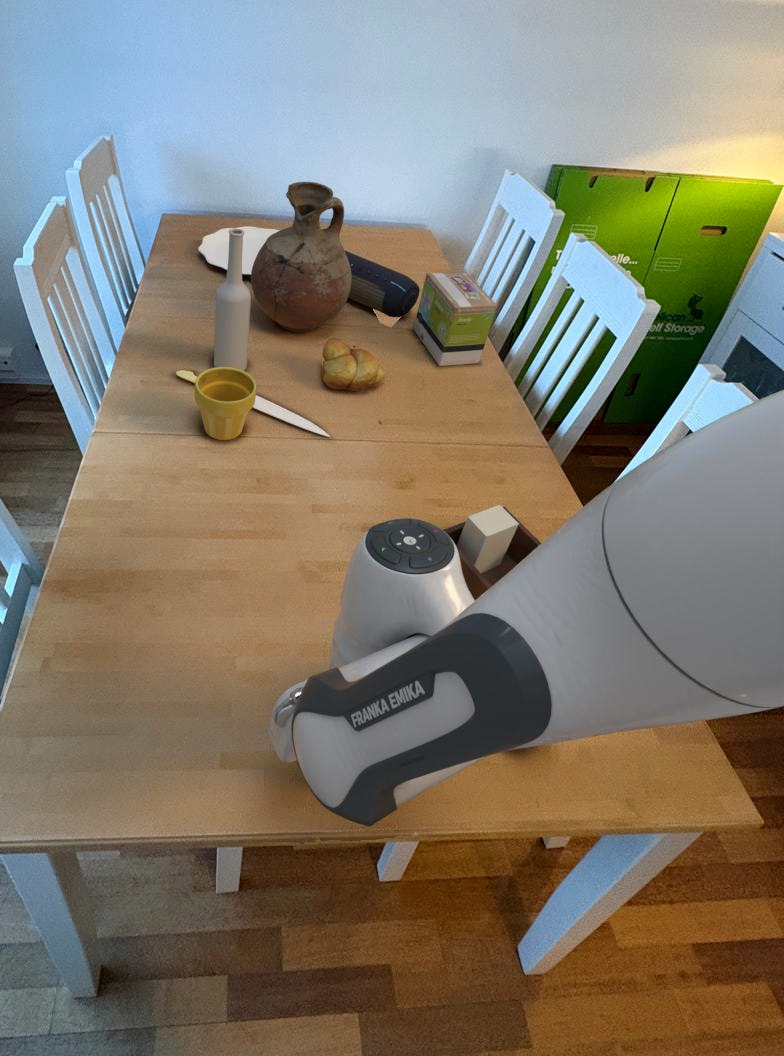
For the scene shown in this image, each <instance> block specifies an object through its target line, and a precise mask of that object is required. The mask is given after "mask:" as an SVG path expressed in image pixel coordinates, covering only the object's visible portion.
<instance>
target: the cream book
mask: <svg viewBox="0 0 784 1056" xmlns="http://www.w3.org/2000/svg"><path fill="white" fill-rule="evenodd" d="M503 507H504V506H502V505H501V504H497V505H495V506H492V507H489V508H487V509H484V510H481V511H479V512H476V513H474V514H471V515H469V516H467V517H466V520H465V521H466V523H465V525H464V528H463V531H462V533H461V536H460V538H459V541H458V544H457V547H458V548H459V549H460V550H461V552H462V553H463V554H464V555H465V556H466V557H467V558H468V559H469V561H470V562H471V563H472V564H473V565H474V566H475V567H476V569H477V570H478V571H479V572H480V573H483V572H485V571H487V570H490V569H492V568H494V567H497V566H499V565H500V564H501V562H502V560H503V558H504V555H505V553H506V551H507V549H508V547H509V544H510V542H511V540H512V538H513V536H514V533H515V531H516V529H517V527H518V525H519V523H518V522H517V521H516V520H515V519H514V518H513V517H512V516H511V515H510V514H509V513H508V512H507V511H506V510H505V509H504V508H503Z"/></svg>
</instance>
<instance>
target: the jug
mask: <svg viewBox="0 0 784 1056" xmlns="http://www.w3.org/2000/svg"><path fill="white" fill-rule="evenodd" d="M285 197H286V198H287V200H288V201H289V204H290V205H291V207H292V208H293V211H294V218H293V223H292V225H291V226H290V227H286V228H284V229H281V230H279V231H278V232H276V233H274V234H272V235H271V236H269V237H268V238H267V240H266V242H265V243H264V245H263V246H262V247H261V249H260V250H259V252H258V254H257V256H256V259H255V261H254V264H253V267H252V271H251V278H250V282H251V289H252V293H253V295H254V298H255V300H256V302H257V303H258V305H259V307H260V308H261V310H262V311H263V312H264V313H265V315H267V316H268V317H269V318H270V319H272V320H273V321H275V322H276V323H277V324H278V325H279V326H280V327H282V328H283V329H285V330H286V331H290V332H293V333H305V332H309V331H311V330H313V329H314V328H316V327H319V326H322V325H324V324H326V323H328V322H329V321H331V320H332V319H333V318H334V317H336V316H337V315H338V313H340V311H341V310H342V309H343V308H344V306H345V304H346V303H347V301H348V299H349V298H348V296H349V293H350V289H351V282H352V276H351V268H350V264H349V261H348V258H347V256H346V253H345V251H346V250H345V249H344V246H343V244H342V242H341V239H340V234H341V230H342V227H343V225H344V218H345V207H344V202H342V200H341V199H340V198H339V197H336V196H334V191H333V189H332V188H330V187H329V186H327V185H325V184H321V183H319V182H314V181H297V182H293V183H291V184H289V185H288V186H287V191H286V193H285ZM331 209H332V218H331V220H330V222H329V225H328V227H327V228H321V223H320V222H321V221H320V219H321V218H320V217H321V215H322V214H323V213H324V212H326V211H328V210H331ZM344 250H345V251H344Z"/></svg>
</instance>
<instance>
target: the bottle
mask: <svg viewBox="0 0 784 1056" xmlns="http://www.w3.org/2000/svg"><path fill="white" fill-rule="evenodd" d="M233 228H234V229H230V230H229V254H228V268H227V271H226V277H225V278H226V279H225V280H224V282H223V283H222V284H221V285H219V287H218V288H217V290H216V293H215V317H214V318H215V320H214V341H213V342H214V346H213V366H214V368H215V367H232V368H237V369H240V370H242V371H245V370H246V369H247V367H248V355H249V354H248V353H249V337H250V336H249V335H250V318H251V317H250V316H251V298H252V293H251V291H250V289H249V287H247V285H246V284H245V282H244V281H243V276H242V248H243V235H244V234H245V233H244V231H243V230H241V229H236V228H237V227H233Z"/></svg>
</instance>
